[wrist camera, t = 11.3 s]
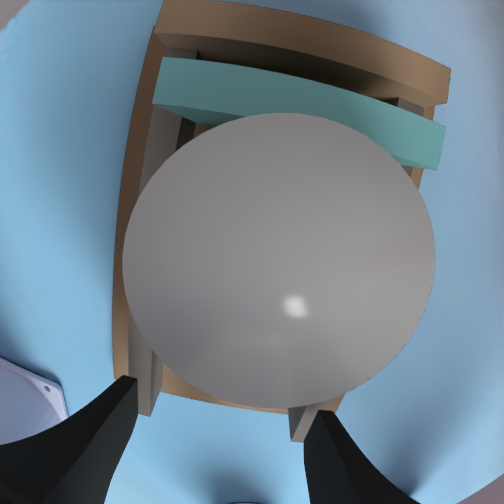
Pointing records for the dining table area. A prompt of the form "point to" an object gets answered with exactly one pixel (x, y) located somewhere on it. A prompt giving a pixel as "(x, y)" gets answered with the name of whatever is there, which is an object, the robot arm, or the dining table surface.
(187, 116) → the pusher
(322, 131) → the jar
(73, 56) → the dining table surface
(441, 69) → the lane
